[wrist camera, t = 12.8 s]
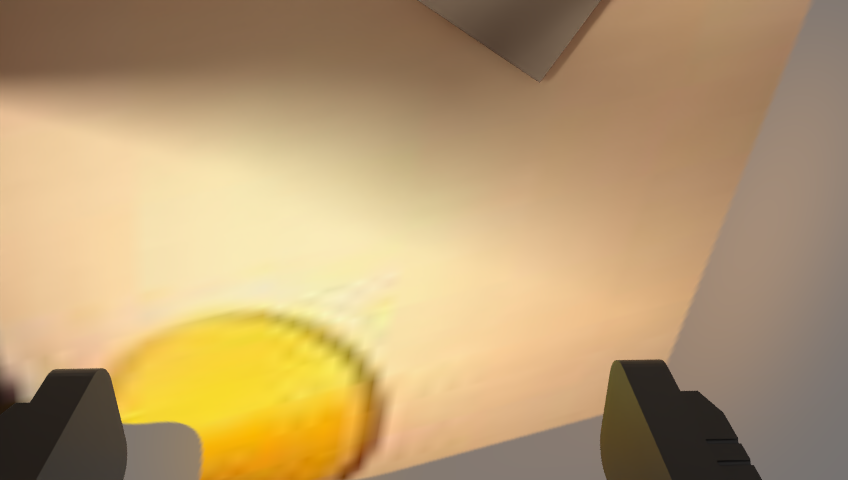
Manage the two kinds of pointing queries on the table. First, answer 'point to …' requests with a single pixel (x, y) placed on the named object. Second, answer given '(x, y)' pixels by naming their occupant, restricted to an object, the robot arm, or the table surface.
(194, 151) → the table surface
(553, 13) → the bottle caddy
